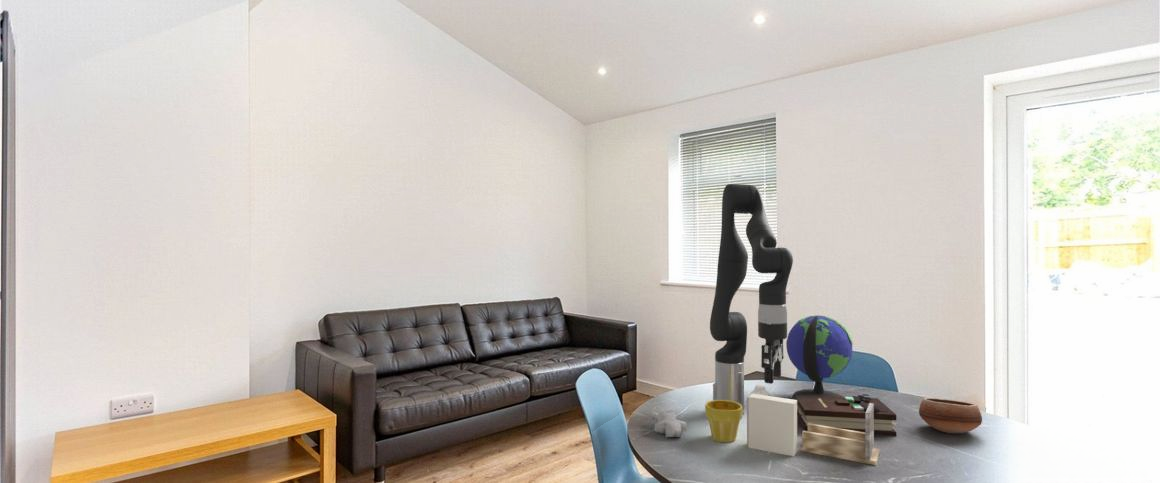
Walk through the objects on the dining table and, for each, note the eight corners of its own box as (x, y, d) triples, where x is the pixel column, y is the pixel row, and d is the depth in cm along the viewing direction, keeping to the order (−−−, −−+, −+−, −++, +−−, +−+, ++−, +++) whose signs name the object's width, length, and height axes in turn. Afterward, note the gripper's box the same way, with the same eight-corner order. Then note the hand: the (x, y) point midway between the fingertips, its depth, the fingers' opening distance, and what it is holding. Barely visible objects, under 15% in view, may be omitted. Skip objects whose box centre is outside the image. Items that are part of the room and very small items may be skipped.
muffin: (754, 400, 200) (754, 381, 200) (771, 403, 196) (771, 383, 196) (748, 405, 195) (748, 384, 195) (766, 408, 191) (766, 387, 191)
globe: (865, 408, 191) (865, 319, 190) (799, 408, 191) (799, 319, 191) (836, 390, 213) (836, 311, 213) (777, 390, 213) (777, 311, 213)
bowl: (975, 427, 171) (975, 394, 171) (987, 445, 157) (987, 409, 157) (915, 420, 178) (915, 389, 178) (922, 436, 164) (922, 402, 163)
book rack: (801, 450, 153) (801, 403, 153) (809, 439, 161) (809, 394, 161) (876, 465, 143) (876, 414, 143) (879, 452, 152) (880, 404, 152)
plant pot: (722, 447, 156) (722, 412, 156) (697, 435, 165) (697, 402, 165) (750, 441, 160) (750, 407, 160) (725, 430, 170) (725, 397, 169)
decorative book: (786, 390, 187) (884, 395, 181) (786, 413, 187) (884, 418, 181) (797, 407, 168) (906, 413, 162) (797, 433, 168) (906, 439, 162)
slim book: (747, 447, 156) (746, 396, 156) (751, 442, 159) (751, 393, 159) (793, 456, 149) (793, 403, 149) (797, 451, 153) (797, 400, 153)
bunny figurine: (659, 427, 161) (646, 405, 176) (658, 444, 162) (646, 421, 176) (691, 425, 162) (676, 404, 177) (690, 442, 163) (675, 419, 178)
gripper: (765, 316, 162) (765, 372, 162) (751, 322, 150) (751, 383, 150) (792, 318, 158) (792, 376, 158) (780, 324, 146) (780, 387, 146)
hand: (772, 379), depth 154 cm, fingers open, 8 cm apart
